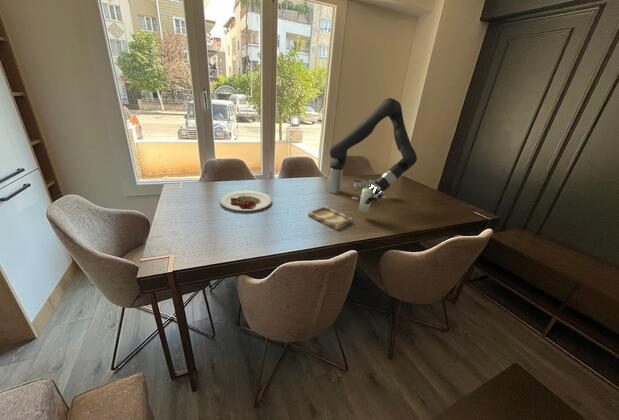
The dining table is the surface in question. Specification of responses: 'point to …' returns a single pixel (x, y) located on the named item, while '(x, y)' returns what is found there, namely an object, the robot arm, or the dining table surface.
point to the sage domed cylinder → (364, 196)
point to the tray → (330, 217)
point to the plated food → (246, 200)
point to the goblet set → (363, 185)
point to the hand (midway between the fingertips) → (363, 200)
